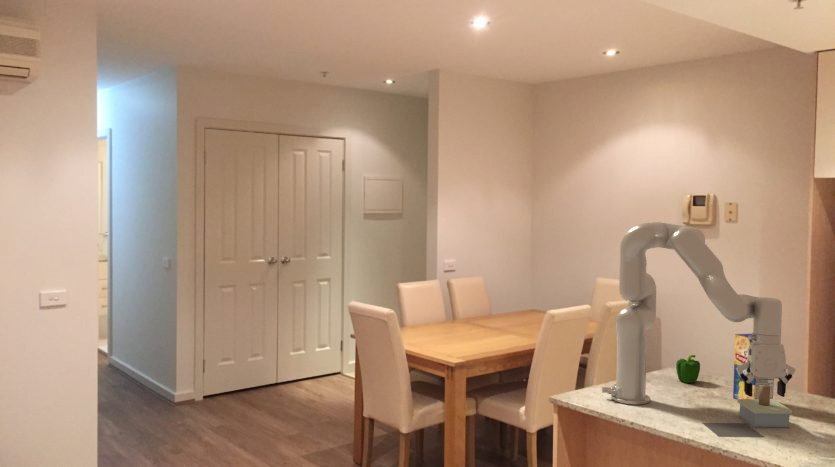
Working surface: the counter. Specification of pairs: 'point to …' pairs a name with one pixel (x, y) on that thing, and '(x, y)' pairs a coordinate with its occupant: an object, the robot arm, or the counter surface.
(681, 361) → the bell pepper
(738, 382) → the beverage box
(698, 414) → the counter surface
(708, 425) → the mat
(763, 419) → the dish
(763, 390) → the lid
